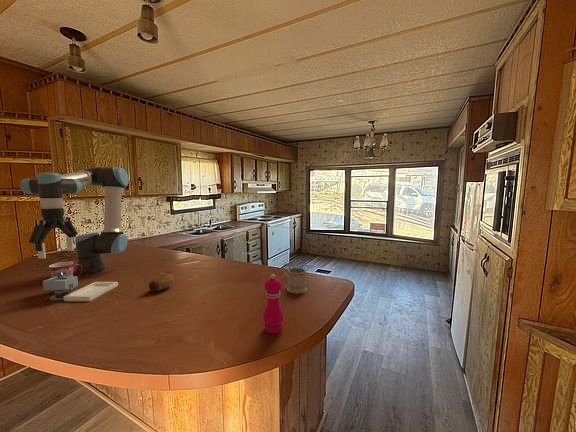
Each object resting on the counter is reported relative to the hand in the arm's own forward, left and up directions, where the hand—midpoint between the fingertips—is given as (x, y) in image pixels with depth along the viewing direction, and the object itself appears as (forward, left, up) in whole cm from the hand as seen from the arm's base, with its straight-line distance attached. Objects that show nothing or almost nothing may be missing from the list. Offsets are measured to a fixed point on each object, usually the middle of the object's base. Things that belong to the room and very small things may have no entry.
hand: (57, 254), depth 113 cm
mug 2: (-12, +108, -21) cm, 110 cm away
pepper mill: (+25, +101, -21) cm, 106 cm away
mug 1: (-9, -5, -21) cm, 23 cm away
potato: (-10, +42, -21) cm, 48 cm away
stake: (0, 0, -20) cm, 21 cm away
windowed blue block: (0, 0, -16) cm, 16 cm away
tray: (-5, +11, -20) cm, 24 cm away
